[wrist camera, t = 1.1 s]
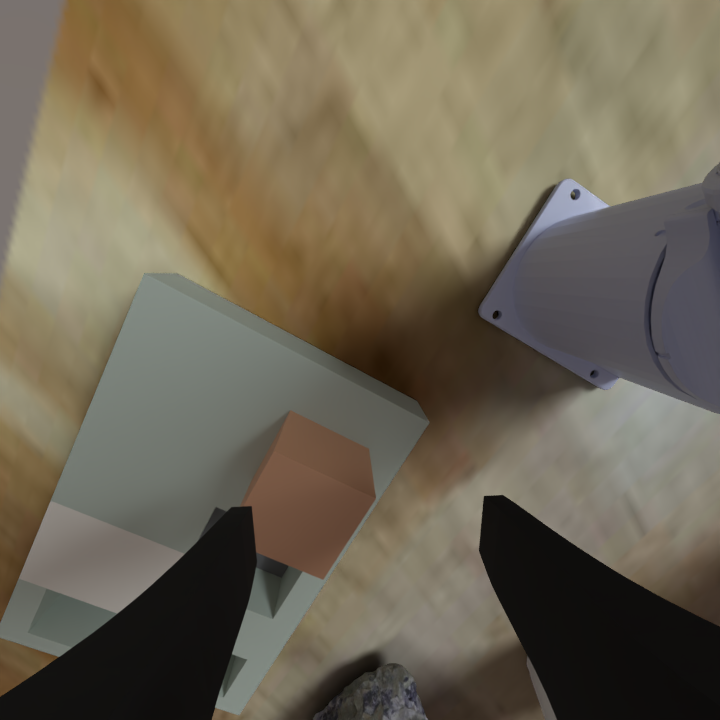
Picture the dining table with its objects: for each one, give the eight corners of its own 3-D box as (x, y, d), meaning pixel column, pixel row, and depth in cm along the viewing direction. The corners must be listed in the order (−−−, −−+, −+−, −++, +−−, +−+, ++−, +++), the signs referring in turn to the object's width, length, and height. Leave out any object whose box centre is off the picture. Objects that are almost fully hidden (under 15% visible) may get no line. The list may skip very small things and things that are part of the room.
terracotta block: (368, 448, 17) (375, 498, 14) (327, 515, 18) (323, 579, 14) (290, 410, 17) (273, 450, 13) (251, 481, 18) (224, 539, 14)
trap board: (417, 401, 20) (429, 422, 17) (251, 663, 24) (239, 715, 22) (177, 273, 18) (144, 272, 15) (41, 588, 22) (-6, 636, 19)
